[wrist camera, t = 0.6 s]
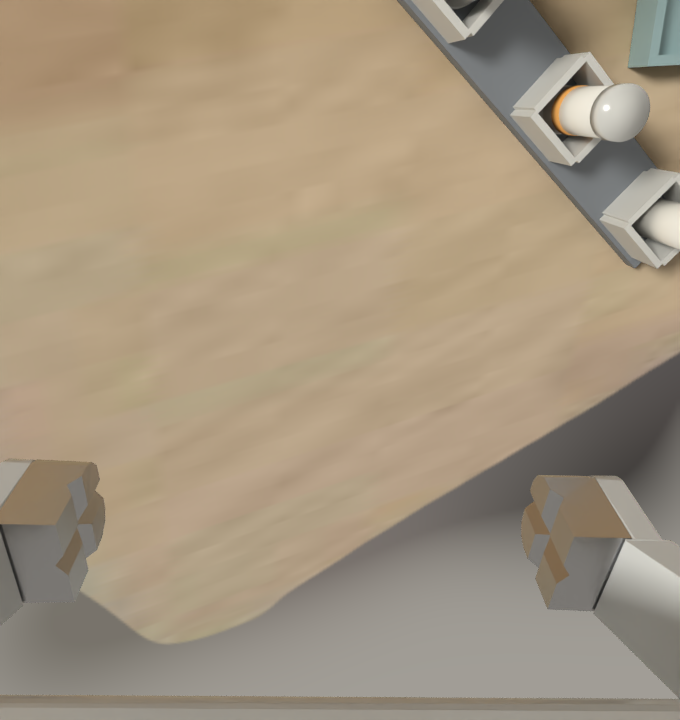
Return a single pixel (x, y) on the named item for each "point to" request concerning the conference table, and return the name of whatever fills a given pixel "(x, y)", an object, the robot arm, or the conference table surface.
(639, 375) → the conference table surface
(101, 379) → the conference table surface
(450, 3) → the peg
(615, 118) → the marked fuse
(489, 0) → the fuse holder
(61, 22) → the conference table surface
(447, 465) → the conference table surface
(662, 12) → the tray
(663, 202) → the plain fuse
